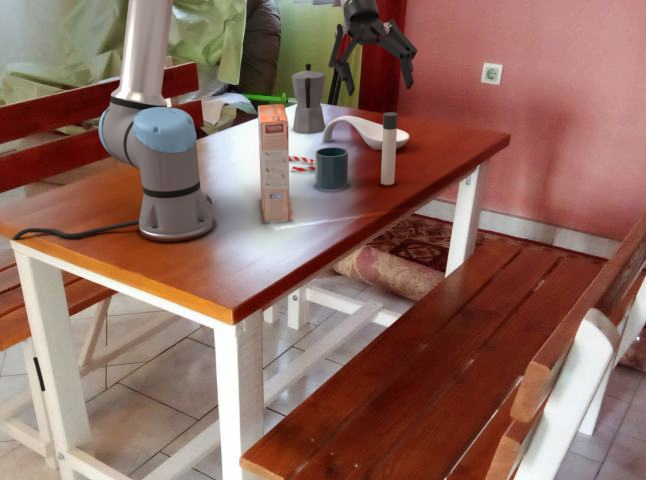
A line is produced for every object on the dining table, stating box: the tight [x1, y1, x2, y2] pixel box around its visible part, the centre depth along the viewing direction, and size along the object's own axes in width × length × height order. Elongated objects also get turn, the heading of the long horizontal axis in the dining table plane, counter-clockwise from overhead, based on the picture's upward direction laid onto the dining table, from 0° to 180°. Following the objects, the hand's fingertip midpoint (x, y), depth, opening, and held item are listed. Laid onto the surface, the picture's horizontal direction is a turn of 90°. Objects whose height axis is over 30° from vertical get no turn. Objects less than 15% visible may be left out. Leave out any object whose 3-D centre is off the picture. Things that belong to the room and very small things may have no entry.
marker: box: [380, 111, 399, 186], centre depth 160 cm, size 3×3×16 cm
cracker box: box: [257, 103, 291, 223], centre depth 149 cm, size 14×6×21 cm, turn 1°
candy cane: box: [289, 155, 315, 172], centre depth 179 cm, size 8×1×15 cm
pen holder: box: [314, 146, 349, 190], centre depth 163 cm, size 7×7×8 cm
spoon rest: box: [321, 115, 410, 151], centre depth 188 cm, size 24×12×7 cm, turn 59°
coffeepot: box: [291, 63, 326, 134], centre depth 201 cm, size 15×9×18 cm, turn 175°
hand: (381, 89), depth 157 cm, fingers open, 13 cm apart
